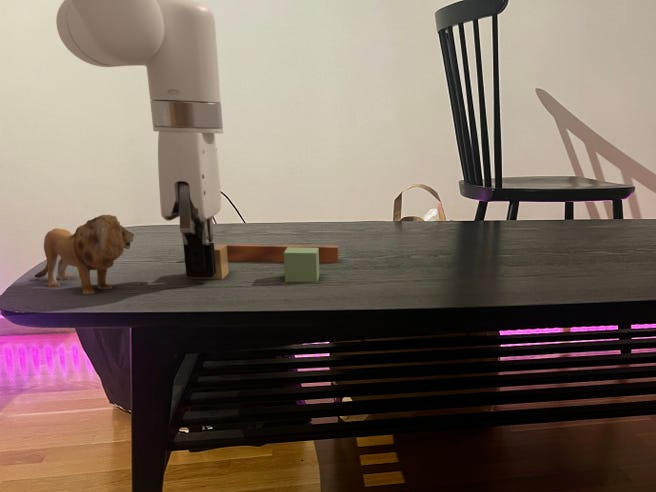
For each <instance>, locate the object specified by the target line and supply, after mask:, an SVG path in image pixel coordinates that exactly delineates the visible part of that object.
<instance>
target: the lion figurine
mask: <svg viewBox="0 0 656 492" xmlns="http://www.w3.org/2000/svg"><path fill="white" fill-rule="evenodd" d="M134 236H135V234H134V233H133V232H131V231H129V230H127V229H126V228H125V227H124V226H123V225H121V223H120V221H118V217H117V216H116V215H111V214H101V215H99V216H95V217H94V218H92V219H89V220H87V221H86V223H84V224H81V225H79V226H78V227H77V228H76V229H75V232H74V233H71V232H70V230H67V229H64V228H56V227H55V228H53V229H51V230H49V231H48V232H47V233H46V234H45V236H44V241H43V251H44V255H45V258H46V264H45V266H44V268H43V269H42V270H40V271H39V272H37V273H36V274H34V278H37V279H41V278H43V277H46V275H47V277H48V287H49V288H56V287H57V288H58V287H60V286H61V284H60V283H59V282H58V280H60V281H66V280H67V281H68V280H70V279H71V277H70V276H69V275H68V274H67V273H66V270H67V268H68V266H71V267H75V268H77V272H78V276H79V279H80V283H81V288H82V294H83V295H92V294H95V293H96V291H95V289H94V287H93V285H92V283H91V271H96V275H97V276H96V277H97V279H96V282H97V288H98V289H99V290H110V289H113V287H112V285H109V284H107V283H106V278H107V273H108V269H110V268H112V267H113V265H114V261H115V262H116V260H117V259H119V258H120V257H121V256H122V255H123V254H124V251H125V250H130V248H131V243H133V241H134ZM58 256H59V257H60V259H59V260H58ZM57 260H58V263H57ZM56 265H57V273H56ZM56 275H57V277H58V280H57V277H56Z"/></svg>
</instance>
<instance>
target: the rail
mask: <svg viewBox="0 0 656 492" xmlns="http://www.w3.org/2000/svg"><path fill="white" fill-rule="evenodd" d="M214 245H227V258H228V262H258V263H259V262H263V263H265V262H266V263H267V262H268V263H276V262H277V263H284V252H285V250H286V249H287V247H301V248H319V263H333V264H334V263H336V264H337V263H339V259H340V258H339V246H338V245H315V244H314V245H313V244H311V245H310V244H307V245H306V244H251V243H250V244H249V243H247V244H245V243H244V244H243V243H214Z"/></svg>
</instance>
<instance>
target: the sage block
mask: <svg viewBox="0 0 656 492" xmlns="http://www.w3.org/2000/svg"><path fill="white" fill-rule="evenodd" d="M283 265H284V282H285V283H287V282H288V283H296V282H297V283H318V281H319V278H320V262H319V248H301V247H287V249H286V250H285V252H284V262H283Z"/></svg>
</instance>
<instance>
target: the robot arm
mask: <svg viewBox="0 0 656 492" xmlns="http://www.w3.org/2000/svg"><path fill="white" fill-rule="evenodd" d="M55 22H56V31H57V33H58V36H59V38H60V41H61V42H62V43H63V45H64V46H65V48H66V49H67V50H68V51H69V52H70V53H71V54H72V55H74V56H75V57H76V58H77V59H79V60H81V61H83V62H84V63H87V64H88V65H92V66H96V67H101V68H114V67H129V66H131V67H132V66H133V67H134V66H144V67H146V74H147V82H148V92H149V100H150V101H149V103H150V113H151V121H152V122H151V123H152V130H153V132H158V137H157V169H158V187H159V188H158V190H159V202H160V203H159V204H160V215H161V217H162V219H164V220H165V221H167V222H170V221H173V220H175V219H177V218H179V231H180V233H181V238H182V243H183V244H182V246H183V255H184V263H185V264H184V265H185V274H186V277H188V278H190V277H213V276H214V275H215V274H216V262H215V249H214V244H215V242H214V224H213V221H214V219H213V217H214V216H216V215H217V214H219V213H220V211H221V208H222V192H221V191H222V190H221V178H220V167H219V160H218V159H219V157H218V147H217V144H216V142H217V141H216V135H215V134H224V129H223V127H224V125H223V113H222V101H221V100H222V99H221V88H220V74H219V72H220V71H219V61H218V60H219V58H218V46H217V33H216V22H215V17H214V14H213V12H212V10H211V8H210V7H209V6H208V5H206V4H204V3H202V2H199V1H196V0H63V1H62V3H61V4H60V6H59V7H58V10H57V14H56V21H55Z"/></svg>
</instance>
